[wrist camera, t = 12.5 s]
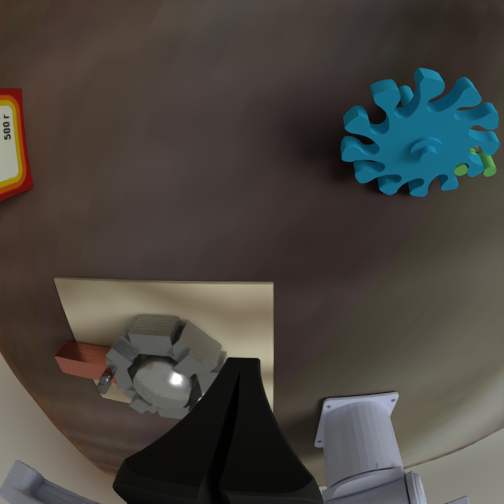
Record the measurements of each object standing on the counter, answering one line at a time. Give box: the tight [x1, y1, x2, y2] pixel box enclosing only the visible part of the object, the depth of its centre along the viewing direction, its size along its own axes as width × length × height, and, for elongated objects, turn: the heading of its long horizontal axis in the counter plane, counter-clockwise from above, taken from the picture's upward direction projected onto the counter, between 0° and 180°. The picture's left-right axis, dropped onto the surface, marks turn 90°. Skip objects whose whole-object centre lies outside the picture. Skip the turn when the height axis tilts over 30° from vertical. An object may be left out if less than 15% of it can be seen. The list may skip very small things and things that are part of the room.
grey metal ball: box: [133, 354, 196, 409], centre depth 24 cm, size 5×5×4 cm
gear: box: [341, 68, 500, 197], centre depth 15 cm, size 11×6×10 cm
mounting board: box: [54, 277, 273, 412], centre depth 24 cm, size 16×20×3 cm
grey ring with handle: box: [55, 315, 227, 419], centre depth 24 cm, size 17×10×4 cm, turn 93°
